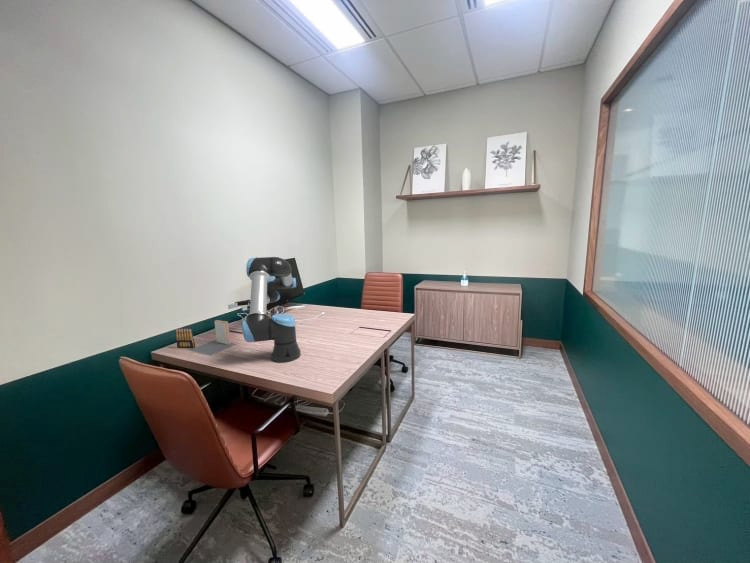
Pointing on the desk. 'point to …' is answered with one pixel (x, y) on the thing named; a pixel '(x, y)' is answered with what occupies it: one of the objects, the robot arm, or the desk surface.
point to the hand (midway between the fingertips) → (235, 307)
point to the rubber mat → (211, 347)
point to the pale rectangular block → (222, 332)
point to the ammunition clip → (185, 339)
